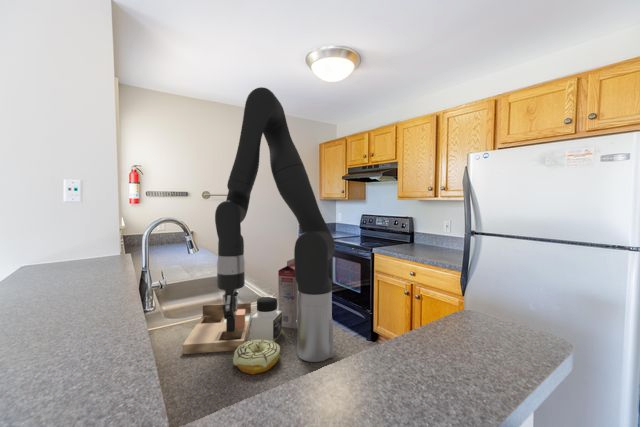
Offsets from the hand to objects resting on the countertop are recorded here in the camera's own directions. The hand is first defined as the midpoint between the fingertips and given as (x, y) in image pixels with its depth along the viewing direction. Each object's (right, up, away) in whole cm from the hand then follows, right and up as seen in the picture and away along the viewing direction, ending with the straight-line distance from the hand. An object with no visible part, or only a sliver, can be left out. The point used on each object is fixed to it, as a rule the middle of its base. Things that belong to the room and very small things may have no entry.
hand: (230, 330), depth 80 cm
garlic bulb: (+6, -4, +26) cm, 27 cm away
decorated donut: (+10, -5, -9) cm, 14 cm away
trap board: (-5, -4, +7) cm, 9 cm away
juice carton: (+16, -4, +15) cm, 22 cm away
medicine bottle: (+9, -4, +5) cm, 11 cm away
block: (-1, -2, +8) cm, 8 cm away
